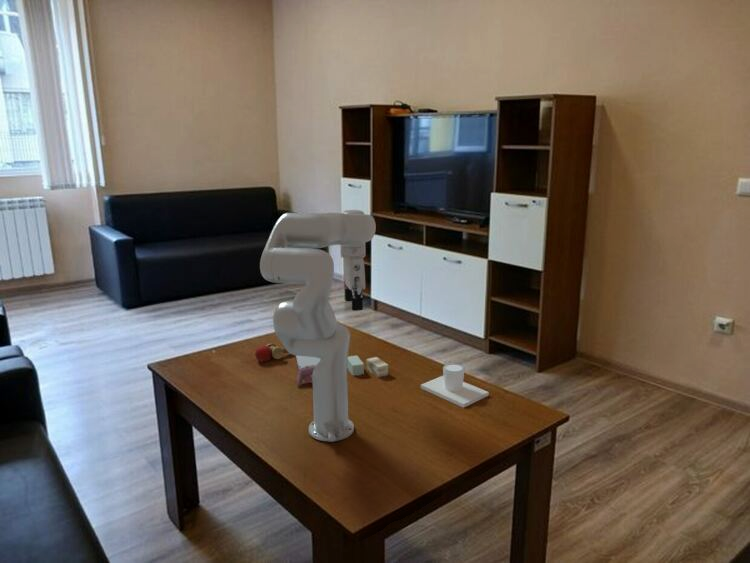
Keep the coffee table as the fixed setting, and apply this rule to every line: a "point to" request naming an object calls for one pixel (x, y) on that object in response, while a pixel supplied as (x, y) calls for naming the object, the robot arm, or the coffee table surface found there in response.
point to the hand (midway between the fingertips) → (354, 305)
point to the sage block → (355, 365)
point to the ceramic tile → (460, 398)
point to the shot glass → (453, 377)
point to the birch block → (377, 367)
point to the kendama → (269, 352)
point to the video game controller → (305, 375)
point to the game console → (307, 361)
